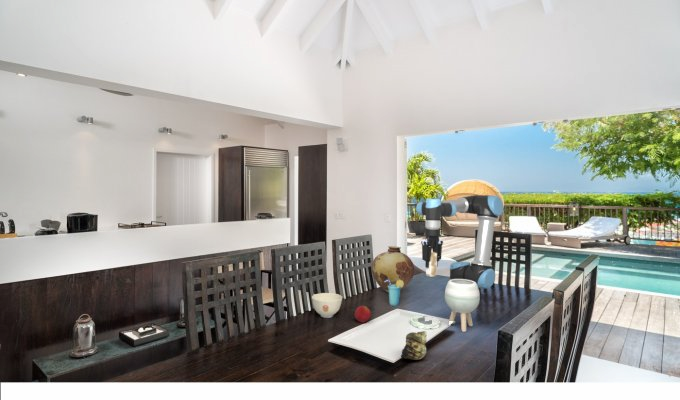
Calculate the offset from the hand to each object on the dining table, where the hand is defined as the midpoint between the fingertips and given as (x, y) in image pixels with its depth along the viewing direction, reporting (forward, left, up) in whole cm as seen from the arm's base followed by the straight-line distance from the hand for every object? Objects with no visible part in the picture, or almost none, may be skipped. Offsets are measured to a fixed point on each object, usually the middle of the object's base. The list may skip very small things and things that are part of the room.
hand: (431, 273), depth 202 cm
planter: (-3, +18, -23) cm, 30 cm away
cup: (+1, -29, -23) cm, 38 cm away
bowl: (+45, -29, -23) cm, 59 cm away
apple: (+34, -12, -23) cm, 43 cm away
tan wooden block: (0, 0, -1) cm, 1 cm away
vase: (-16, -51, -23) cm, 59 cm away
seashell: (+41, +33, -23) cm, 58 cm away
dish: (+9, +6, -23) cm, 26 cm away
